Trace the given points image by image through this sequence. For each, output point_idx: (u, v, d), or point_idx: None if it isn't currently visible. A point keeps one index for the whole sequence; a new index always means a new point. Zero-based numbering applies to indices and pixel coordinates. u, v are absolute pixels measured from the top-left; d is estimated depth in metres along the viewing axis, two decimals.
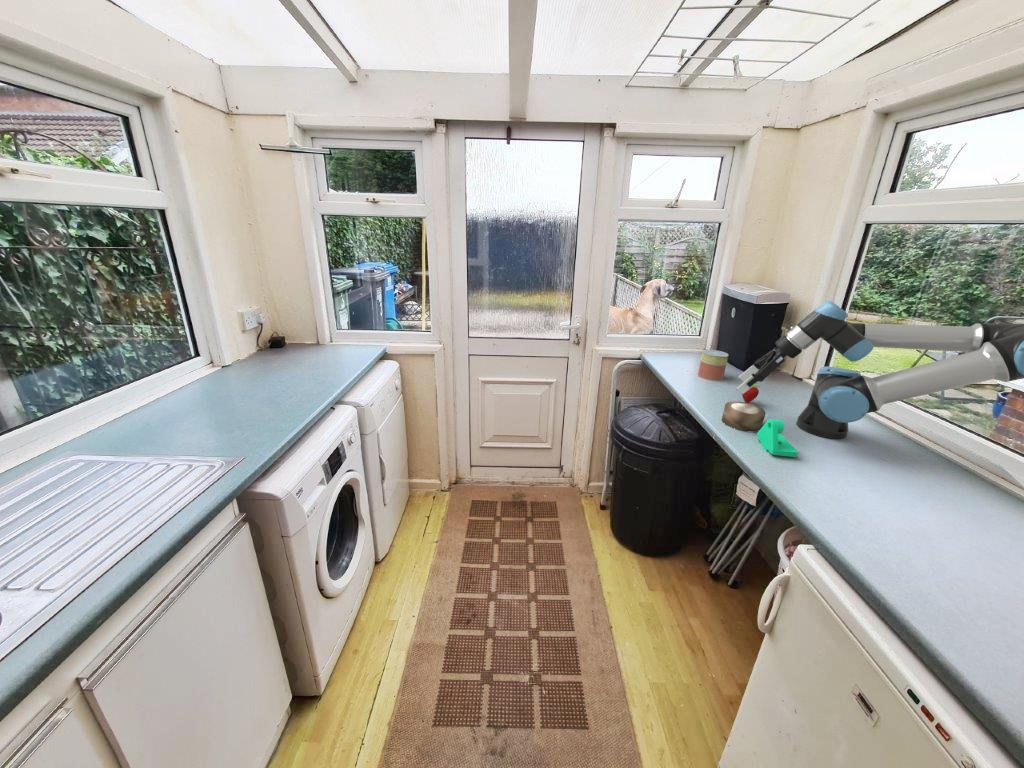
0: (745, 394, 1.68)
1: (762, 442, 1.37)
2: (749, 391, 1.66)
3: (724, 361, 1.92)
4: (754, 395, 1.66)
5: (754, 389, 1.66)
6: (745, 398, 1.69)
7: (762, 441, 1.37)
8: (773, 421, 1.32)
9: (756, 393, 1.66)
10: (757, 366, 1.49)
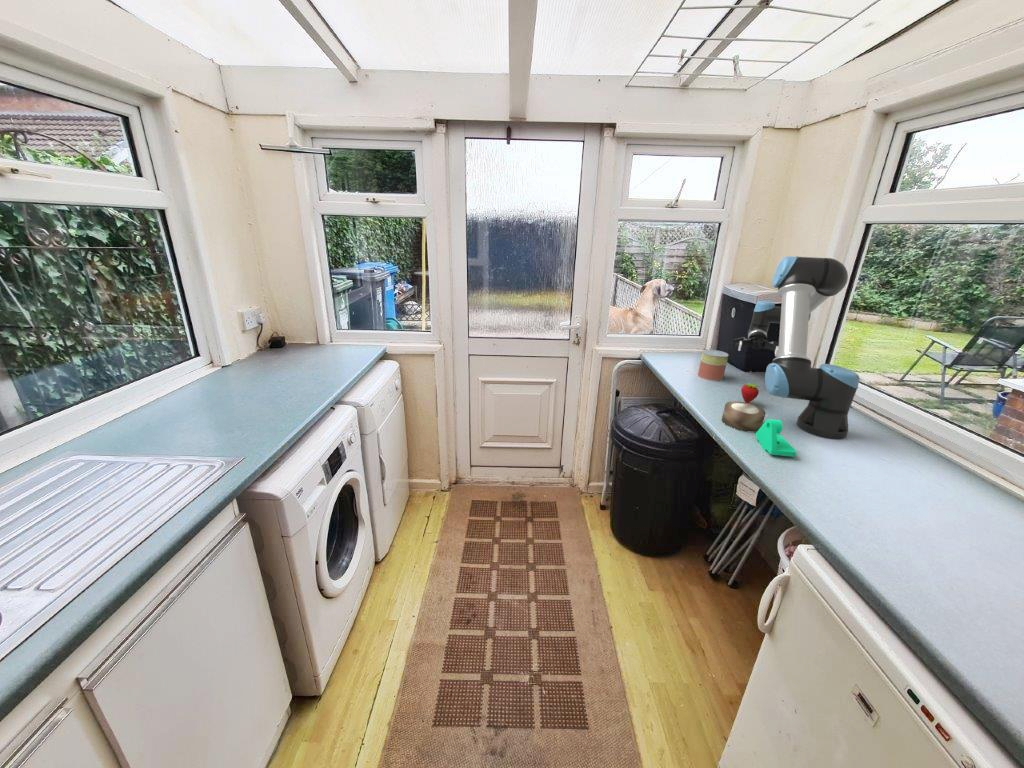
0: (745, 394, 1.68)
1: (761, 442, 1.37)
2: (749, 391, 1.66)
3: (724, 361, 1.92)
4: (754, 395, 1.66)
5: (754, 389, 1.66)
6: (745, 398, 1.69)
7: (761, 441, 1.37)
8: (772, 421, 1.32)
9: (756, 393, 1.66)
10: None
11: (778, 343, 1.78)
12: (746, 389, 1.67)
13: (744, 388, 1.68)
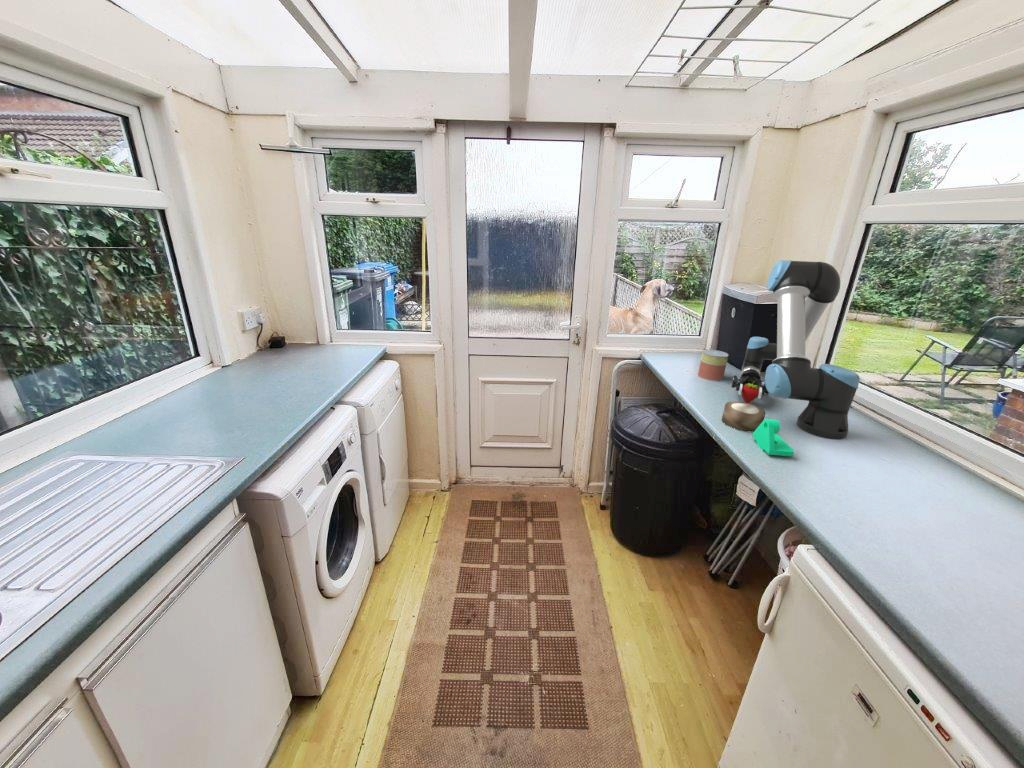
0: (745, 394, 1.68)
1: (758, 442, 1.37)
2: (749, 391, 1.66)
3: (724, 361, 1.92)
4: (754, 395, 1.66)
5: (754, 389, 1.66)
6: (745, 398, 1.69)
7: (759, 441, 1.37)
8: (769, 420, 1.32)
9: (756, 393, 1.66)
10: None
11: None
12: (746, 389, 1.67)
13: (744, 388, 1.68)
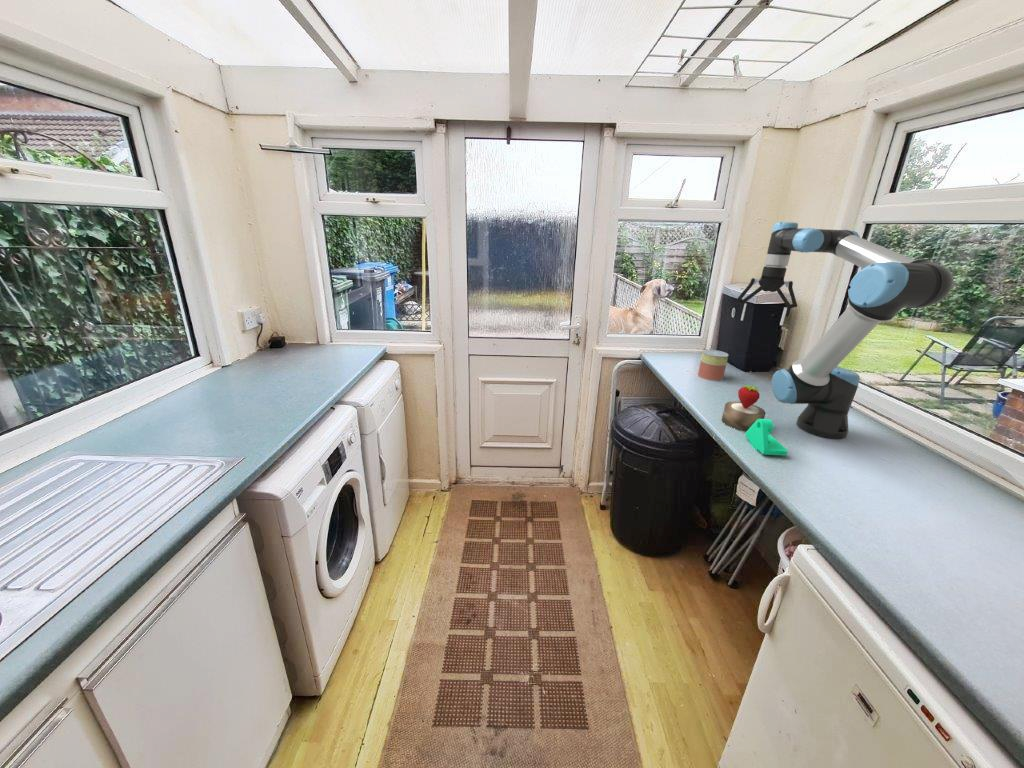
0: (746, 398, 1.47)
1: (751, 442, 1.37)
2: (751, 395, 1.45)
3: (724, 361, 1.92)
4: (756, 399, 1.46)
5: (755, 392, 1.46)
6: (745, 403, 1.48)
7: (752, 441, 1.37)
8: (763, 420, 1.32)
9: (758, 396, 1.46)
10: (787, 306, 1.58)
11: (792, 291, 1.54)
12: (747, 393, 1.46)
13: (744, 392, 1.47)
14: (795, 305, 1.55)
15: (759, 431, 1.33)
